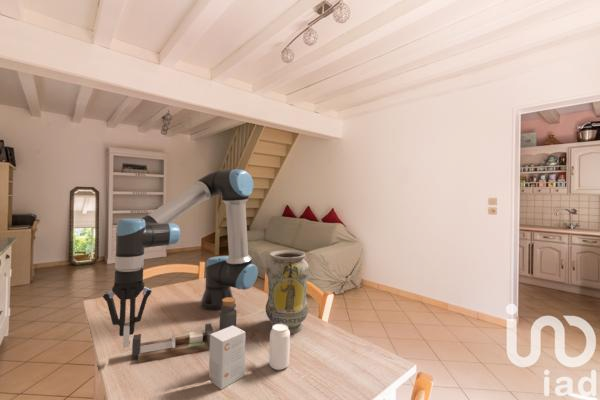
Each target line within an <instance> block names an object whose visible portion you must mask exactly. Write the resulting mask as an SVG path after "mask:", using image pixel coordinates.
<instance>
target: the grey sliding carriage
mask: <svg viewBox="0 0 600 400" xmlns="http://www.w3.org/2000/svg"><path fill="white" fill-rule="evenodd" d="M171 338H172V341H167V342H161V343H155V344H149V345H143V346H141V343H142V334H141V333H138V334H133V338H132V344H131V345H132V347H131V348H132V349H131V351H132V352H131V360H135V359H138V355H139V354H142V353H147V352H153V351H159V350H164V349H170V348H175V338H176V334H172V335H171Z"/></svg>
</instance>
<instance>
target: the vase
mask: <svg viewBox="0 0 600 400" xmlns="http://www.w3.org/2000/svg"><path fill="white" fill-rule="evenodd" d="M269 256H270V258H271V259H270V260H269V261H268V262H267V264H266V265H265V274H266V277H267V285H268V287H267V290H268V293H267V294H268V297H267V301H266V304H265V314H266V317H267V318H268V319H269V321H270V322H271V324H270V328H271V329H272V327H273V326H274V325H275V324H285V325H287V326H288V329H289V331H290V335H291V334H295V333H299V332H300V331H301V330H302V329H303V324H302V323H303V322H304V321H305V320H306V318H307V317H308V314H309V310H310V309H309V303H308V299H307V287H308V286H307V285H308V277H309V274H310V265H309V264H308V262H307V260H305V259H304V258H305V257H306V254H305V252H304V251H299V250H287V249H285V250H276V251H275V250H274V251H271V252H270V253H269Z"/></svg>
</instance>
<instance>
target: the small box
mask: <svg viewBox="0 0 600 400" xmlns="http://www.w3.org/2000/svg"><path fill="white" fill-rule="evenodd" d="M208 356H209V359H208V360H209V361H208V363H209V364H208V377H209V378H210V379H209V381H210V382H211V383H212V384H214V386H216V387H218V389H220V390H222V389H225V388H226V387H228V386H230V385H231V384H233V383H234V382H236V381H238V380H240V379H242V378H243V377H245V369H246V368H245V367H246V365H245V364H246V331H245V330H243V329H241V328H239V327H237V326H236V327H235V326H233V325H232V326H230V327H227V328H225V329H222V330H220V331H219V330H218V331H217V330H216V331H214V333H212V334H210V350H209V355H208Z"/></svg>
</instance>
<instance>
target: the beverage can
mask: <svg viewBox="0 0 600 400" xmlns="http://www.w3.org/2000/svg"><path fill="white" fill-rule="evenodd" d="M290 343H291V334H290V331H289V329H288V326H287V325H285V324H275V325H274V326H273V327H272V328H271V330H270V332H269V358H268V362H269V363H268V365H269V367H270V368H272V369H274V370H276V371H282V370H284V369H286V368H287V367H288V366H289V364H290V350H291V349H290V346H291V345H290Z"/></svg>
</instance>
